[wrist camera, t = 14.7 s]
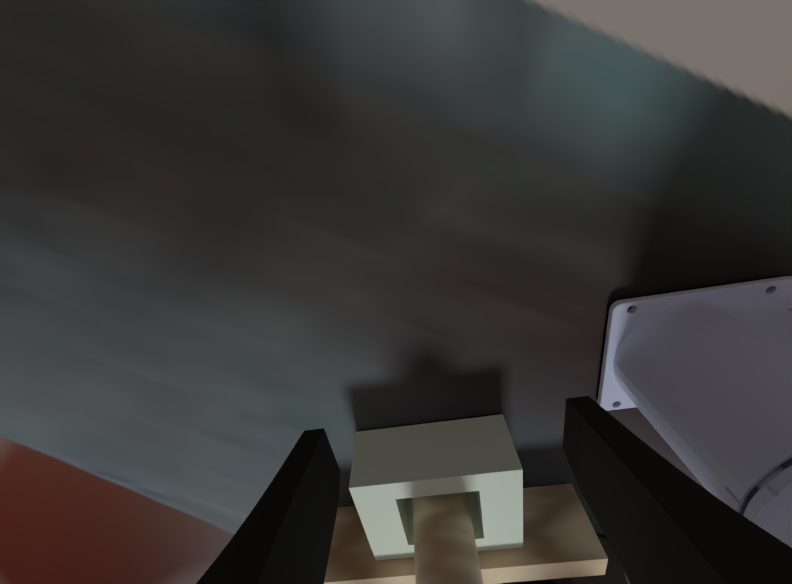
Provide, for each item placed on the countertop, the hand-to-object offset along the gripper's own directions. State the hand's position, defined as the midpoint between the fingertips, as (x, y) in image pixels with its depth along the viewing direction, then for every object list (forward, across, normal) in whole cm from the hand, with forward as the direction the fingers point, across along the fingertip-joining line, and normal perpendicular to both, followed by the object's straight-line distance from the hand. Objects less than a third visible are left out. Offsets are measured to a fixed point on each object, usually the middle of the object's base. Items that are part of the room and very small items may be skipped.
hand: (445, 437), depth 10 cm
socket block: (+9, +1, +14) cm, 17 cm away
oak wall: (+9, +1, +19) cm, 21 cm away
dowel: (+9, +1, +14) cm, 16 cm away
